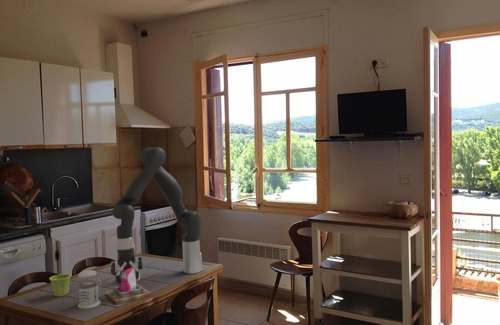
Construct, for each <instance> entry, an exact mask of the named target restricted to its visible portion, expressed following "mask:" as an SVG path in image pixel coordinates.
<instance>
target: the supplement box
mask: <svg viewBox="0 0 500 325" xmlns="http://www.w3.org/2000/svg"><path fill="white" fill-rule="evenodd" d="M119 276H120V283H119V284H118V286H119V291H120V292H127V291H131V290H135V289H136V284H137V281H136V276H135V269H134V268H133V267H131V268H127V269H123V270H122V271H121V272H120V274H119Z"/></svg>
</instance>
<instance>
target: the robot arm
mask: <svg viewBox="0 0 500 325" xmlns="http://www.w3.org/2000/svg"><path fill="white" fill-rule="evenodd" d="M140 158H141V162H142V164H143V165H144V166H145V168H143V169H142V171H141V172H140V173H139V174H138V175H137V176H136V177H135V178H134V179H133V180H132V181H131V183H130V184H129V186H128V188H127V189H126V191H125V192H124V194H123V195H122V196H121V198H119V199H118V201H117V202H115V204H114V206H113V209H112V216H113V217H114V219H118V220H121V222H120V224H119V225H117V227H116V250H117V252H116V254H117V259H116V260H117V261H112V260H111V262H110V274H111V275H112V276H114V277H115V281H116V282H115V283H116V284H118V285H119V283H120V276H119V274H120V272H121V271H122V270H123V269H127V268H131V267H133V268H134V269H135V276H136V279H138V278H139V270H143V268H144V267H143V259H142V257H141V256H140V255H138V256H136V257H135V251H134V244H135V241H134V235H133V226H134V221H135V209H134V207H133V206H132V205H133V204H136V203H137V202H138V201H139V200H140V198H141V196H142V194H143V193H144V191H145V189H146V187H147V186H148V184H149V183H150V181H151V180H152V178H153V179H154V180H155V182H156V184H157V186H158V187H159V189H160V191H161V193H162V194H163V196H164V197H165V199H166V200H167V202H168V204H169V205H170V207H171V210H172V211H173V213H174V215H175V218H176V220H177V222H178V224H179V225H180V226H181V227H182V228H185V229H187V232H186V233H185V234H183V235H182V240H181V241H182V258H183V272H184V273H185V274H187V275H188V274H192V275H193V274H198V273H200V272H202V271H203V258H202V257H203V255H202V253H201V247H200V246H201V245H200V244H201V243H200V237H201V215H200V213H198V211H194V210H188V209H187V208H186V206H185V205H184V203H183V191H182V188H181V186H180V184H179V183H178V181H177V180H176V178H174V177H173V176H172V175H171V174H170V173H169V172H167V170H165V169H164V167H163V166H162V165H163V163H164V162H165V160H166V152H165V150H164V149H163V148H162V147H157V146H156V147H145V148H144V149H142V150H141V153H140ZM135 262H137V265H138V267H136V266H135V265H136V264H135ZM117 265H118V267H117V268H116V266H117Z"/></svg>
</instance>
